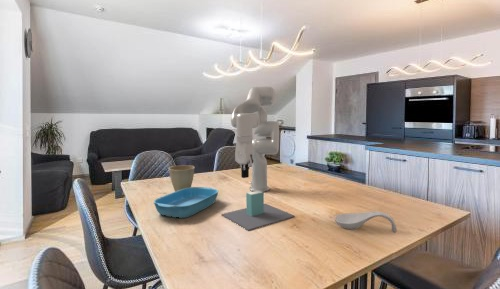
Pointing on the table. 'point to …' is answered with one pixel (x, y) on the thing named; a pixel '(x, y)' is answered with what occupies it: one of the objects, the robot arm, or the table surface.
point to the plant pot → (181, 176)
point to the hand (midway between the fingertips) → (245, 177)
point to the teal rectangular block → (255, 203)
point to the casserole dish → (186, 201)
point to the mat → (257, 217)
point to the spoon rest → (360, 219)
